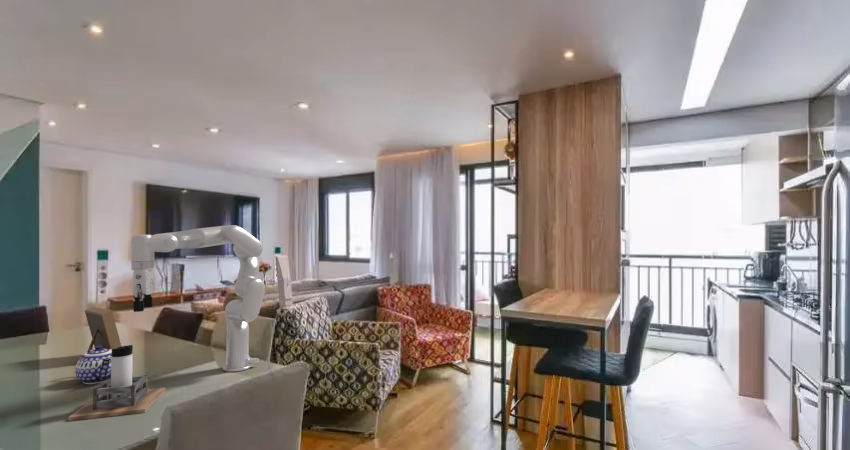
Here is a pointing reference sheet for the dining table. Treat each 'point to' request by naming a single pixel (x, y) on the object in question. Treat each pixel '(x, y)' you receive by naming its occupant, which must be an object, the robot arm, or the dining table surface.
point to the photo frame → (102, 328)
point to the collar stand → (119, 400)
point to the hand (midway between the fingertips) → (143, 309)
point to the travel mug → (121, 369)
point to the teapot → (94, 366)
